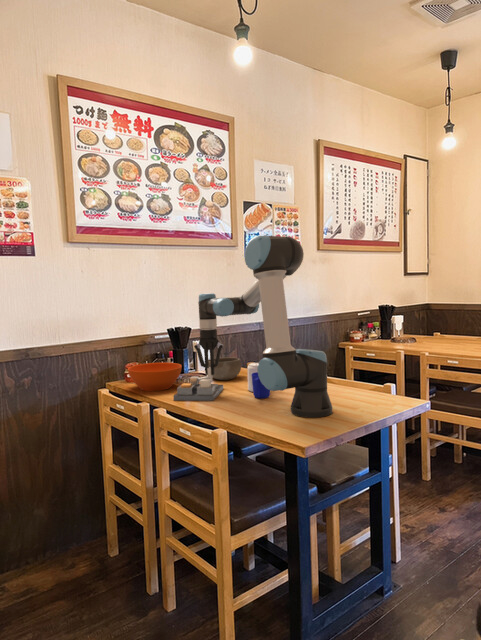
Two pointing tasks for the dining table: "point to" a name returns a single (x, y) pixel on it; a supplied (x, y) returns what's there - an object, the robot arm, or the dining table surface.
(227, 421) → the dining table surface
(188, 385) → the button orange
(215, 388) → the panel
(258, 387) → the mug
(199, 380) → the rocker
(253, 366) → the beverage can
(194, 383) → the slider knob
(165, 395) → the dining table surface
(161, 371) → the bowl
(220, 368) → the bowl
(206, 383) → the button ivory
